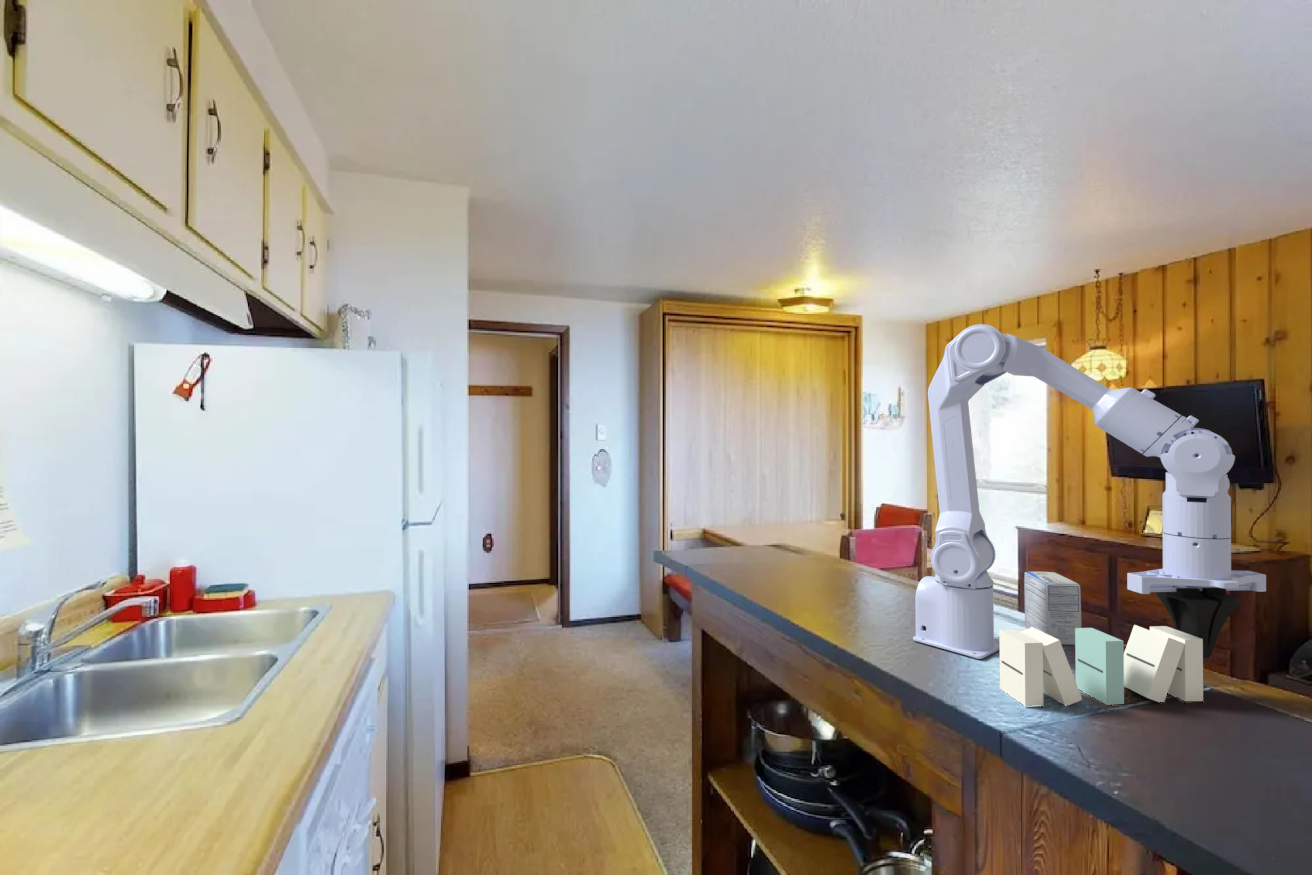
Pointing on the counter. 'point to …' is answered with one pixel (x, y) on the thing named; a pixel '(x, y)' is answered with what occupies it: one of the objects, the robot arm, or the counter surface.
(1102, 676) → the domino
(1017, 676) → the domino
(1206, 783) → the counter surface
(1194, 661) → the domino
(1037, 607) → the medicine box
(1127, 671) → the domino
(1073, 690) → the domino
